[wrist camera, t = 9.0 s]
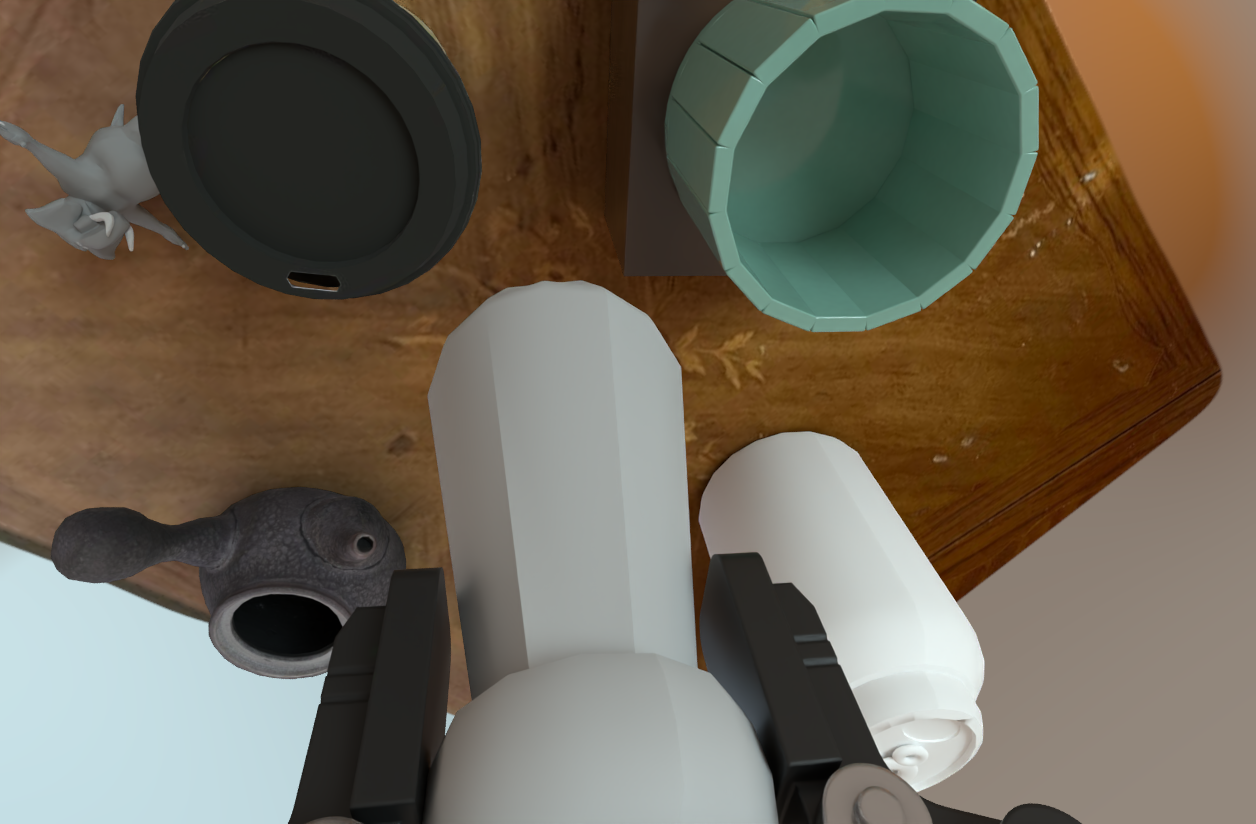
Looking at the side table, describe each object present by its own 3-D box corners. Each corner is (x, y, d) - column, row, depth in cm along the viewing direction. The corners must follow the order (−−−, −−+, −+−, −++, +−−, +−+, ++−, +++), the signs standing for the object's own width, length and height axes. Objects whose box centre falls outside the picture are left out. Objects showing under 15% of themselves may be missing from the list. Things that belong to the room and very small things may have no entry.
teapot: (472, 503, 47) (463, 622, 39) (347, 629, 53) (317, 758, 44) (187, 348, 39) (100, 460, 30) (72, 518, 44) (-30, 653, 36)
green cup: (654, 248, 31) (693, 335, 24) (676, -35, 25) (735, -23, 18) (879, 248, 32) (974, 329, 25) (950, -20, 26) (1096, -3, 20)
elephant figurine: (317, 191, 35) (178, 316, 34) (252, 124, 37) (119, 241, 36) (160, 40, 26) (-35, 209, 25) (82, -42, 27) (-103, 114, 27)
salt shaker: (698, 380, 19) (925, 927, 9) (521, 472, 20) (536, 1064, 10) (592, 198, 16) (751, 721, 6) (388, 319, 17) (198, 957, 7)
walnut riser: (604, 216, 38) (623, 276, 31) (614, -80, 30) (642, -83, 24) (835, 217, 39) (899, 274, 33) (896, -62, 32) (993, -60, 26)
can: (796, 574, 56) (913, 840, 40) (663, 531, 51) (734, 812, 35) (899, 460, 51) (1084, 714, 34) (761, 400, 46) (898, 660, 30)
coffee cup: (498, -26, 31) (490, 3, 19) (484, 196, 36) (471, 332, 24) (255, -73, 29) (66, -76, 17) (278, 169, 34) (147, 303, 22)
